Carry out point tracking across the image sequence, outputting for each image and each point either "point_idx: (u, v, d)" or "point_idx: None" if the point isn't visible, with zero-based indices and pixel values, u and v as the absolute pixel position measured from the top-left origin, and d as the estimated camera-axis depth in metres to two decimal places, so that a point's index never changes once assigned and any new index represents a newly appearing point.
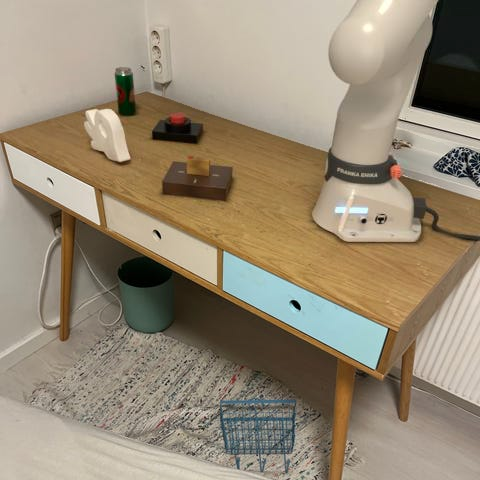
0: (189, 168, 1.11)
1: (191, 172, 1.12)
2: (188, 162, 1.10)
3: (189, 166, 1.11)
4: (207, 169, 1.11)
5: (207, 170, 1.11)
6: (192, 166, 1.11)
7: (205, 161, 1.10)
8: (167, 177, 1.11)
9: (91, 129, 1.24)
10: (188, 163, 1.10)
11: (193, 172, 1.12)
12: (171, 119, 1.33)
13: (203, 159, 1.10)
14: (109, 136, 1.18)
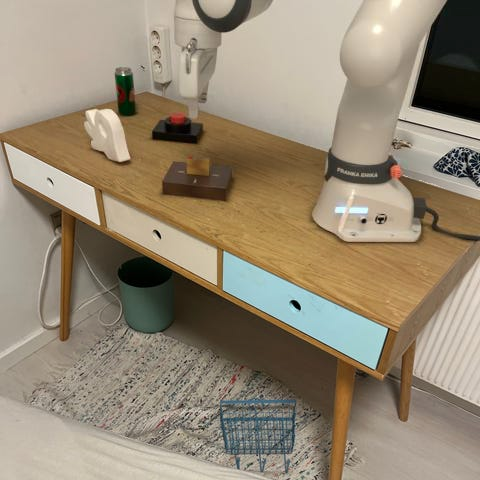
0: (189, 168, 1.11)
1: (191, 172, 1.12)
2: (188, 162, 1.10)
3: (189, 166, 1.11)
4: (207, 169, 1.11)
5: (207, 170, 1.11)
6: (192, 166, 1.11)
7: (205, 161, 1.10)
8: (167, 177, 1.11)
9: (91, 129, 1.24)
10: (188, 163, 1.10)
11: (193, 172, 1.12)
12: (171, 119, 1.33)
13: (203, 159, 1.10)
14: (109, 136, 1.18)
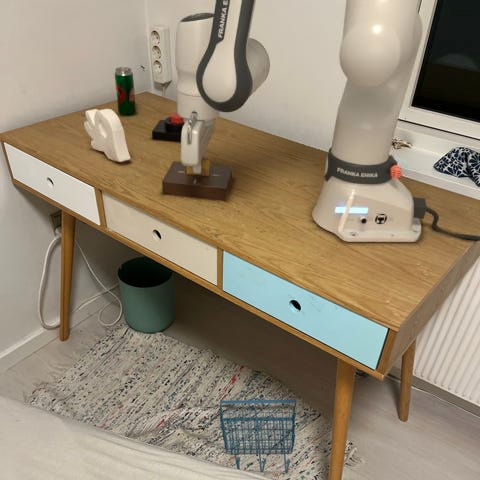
0: (189, 168, 1.11)
1: (191, 172, 1.12)
2: None
3: (189, 166, 1.11)
4: (207, 169, 1.11)
5: (207, 170, 1.11)
6: None
7: (205, 161, 1.10)
8: (167, 177, 1.11)
9: (91, 129, 1.24)
10: None
11: (193, 172, 1.12)
12: (171, 119, 1.33)
13: (203, 159, 1.10)
14: (109, 136, 1.18)
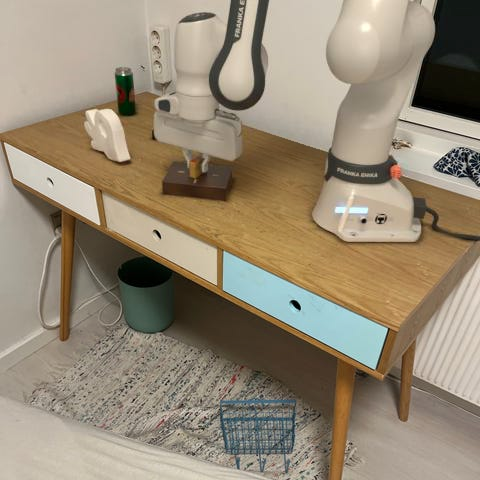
0: (196, 171, 1.10)
1: (197, 174, 1.11)
2: (195, 166, 1.09)
3: (196, 169, 1.10)
4: None
5: None
6: (198, 168, 1.10)
7: None
8: (167, 177, 1.11)
9: (91, 129, 1.24)
10: (195, 167, 1.09)
11: (198, 174, 1.11)
12: None
13: (201, 156, 1.11)
14: (109, 136, 1.18)
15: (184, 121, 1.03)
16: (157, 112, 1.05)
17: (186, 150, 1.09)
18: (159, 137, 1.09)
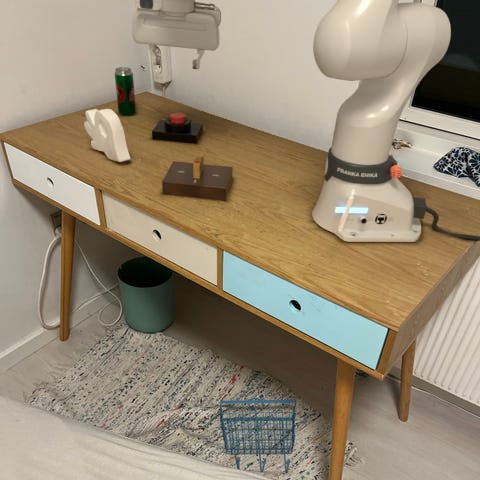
0: (200, 171, 1.10)
1: (200, 174, 1.11)
2: (199, 166, 1.09)
3: (200, 169, 1.10)
4: (203, 163, 1.13)
5: (203, 164, 1.13)
6: (200, 168, 1.10)
7: (202, 156, 1.12)
8: (167, 177, 1.11)
9: (91, 129, 1.24)
10: (199, 167, 1.09)
11: (200, 173, 1.11)
12: (171, 119, 1.33)
13: (199, 156, 1.11)
14: (109, 136, 1.18)
15: (167, 16, 1.13)
16: (137, 11, 1.13)
17: (152, 46, 1.19)
18: (138, 38, 1.17)
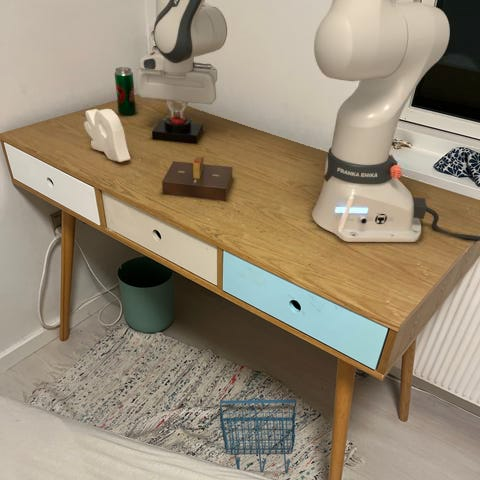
0: (200, 171, 1.10)
1: (200, 174, 1.11)
2: (199, 166, 1.09)
3: (200, 169, 1.10)
4: (203, 163, 1.13)
5: (203, 164, 1.13)
6: (200, 168, 1.10)
7: (202, 156, 1.12)
8: (167, 177, 1.11)
9: (91, 129, 1.23)
10: (199, 167, 1.09)
11: (200, 173, 1.11)
12: (171, 121, 1.33)
13: (199, 156, 1.11)
14: (109, 136, 1.18)
15: (168, 75, 1.25)
16: (141, 71, 1.25)
17: (170, 101, 1.31)
18: (142, 93, 1.29)
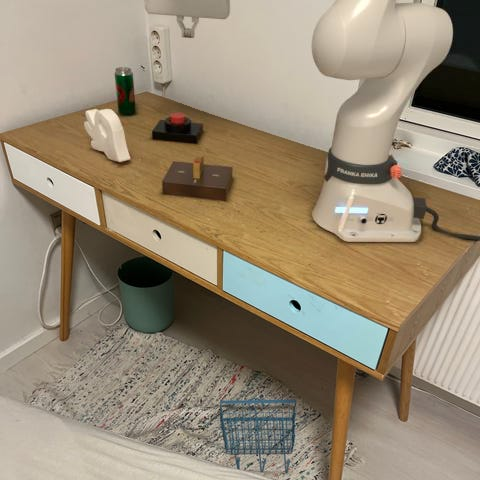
0: (200, 171, 1.10)
1: (200, 174, 1.11)
2: (199, 166, 1.09)
3: (200, 169, 1.10)
4: (203, 163, 1.13)
5: (203, 164, 1.13)
6: (200, 168, 1.10)
7: (202, 156, 1.12)
8: (167, 177, 1.11)
9: (91, 129, 1.23)
10: (199, 167, 1.09)
11: (200, 173, 1.11)
12: (171, 119, 1.33)
13: (199, 156, 1.11)
14: (109, 136, 1.18)
15: None
16: None
17: (180, 18, 1.21)
18: (150, 8, 1.19)
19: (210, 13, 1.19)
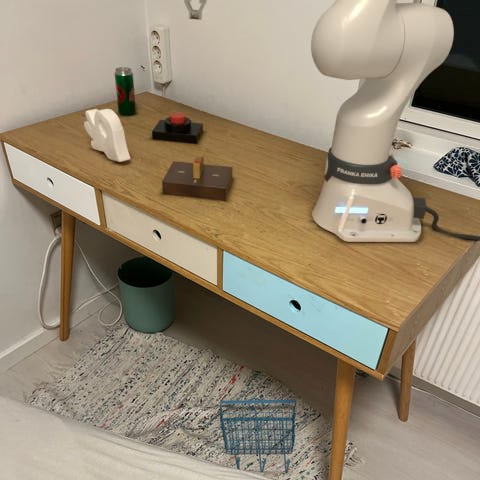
0: (200, 171, 1.10)
1: (200, 174, 1.11)
2: (199, 166, 1.09)
3: (200, 169, 1.10)
4: (203, 163, 1.13)
5: (203, 164, 1.13)
6: (200, 168, 1.10)
7: (202, 156, 1.12)
8: (167, 177, 1.11)
9: (91, 129, 1.23)
10: (199, 167, 1.09)
11: (200, 173, 1.11)
12: (171, 119, 1.33)
13: (199, 156, 1.11)
14: (109, 136, 1.18)
15: None
16: None
17: None
18: None
19: None
